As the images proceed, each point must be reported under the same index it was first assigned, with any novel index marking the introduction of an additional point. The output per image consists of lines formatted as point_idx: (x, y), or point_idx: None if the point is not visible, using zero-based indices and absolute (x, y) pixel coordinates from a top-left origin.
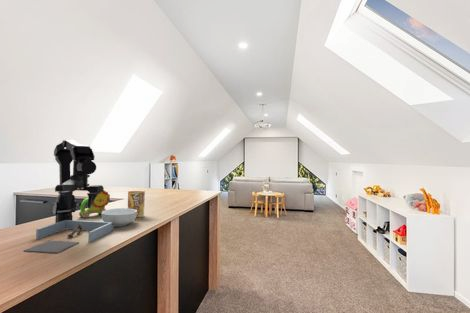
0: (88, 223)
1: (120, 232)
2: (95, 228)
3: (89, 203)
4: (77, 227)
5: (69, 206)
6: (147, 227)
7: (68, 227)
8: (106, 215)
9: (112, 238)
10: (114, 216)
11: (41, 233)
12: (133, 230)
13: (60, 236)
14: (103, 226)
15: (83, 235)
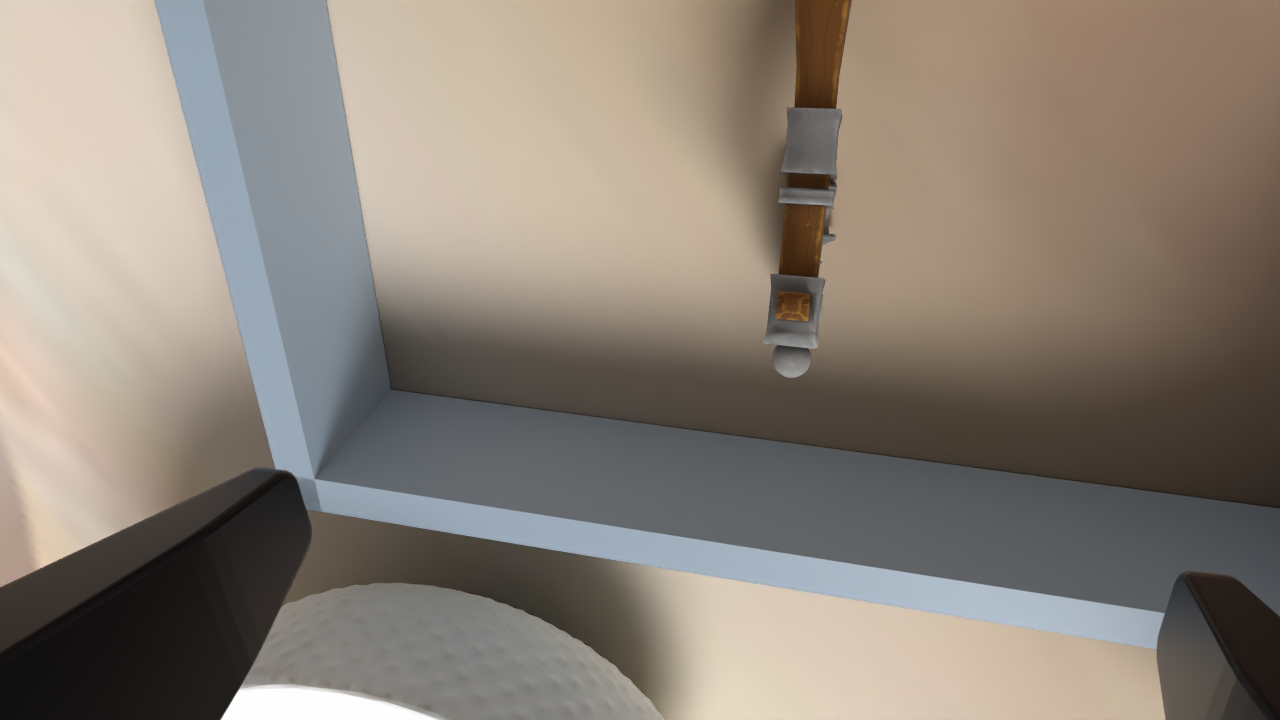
0: (769, 524)
1: (196, 336)
2: (635, 444)
3: (62, 563)
4: (804, 225)
5: (1176, 641)
6: (55, 557)
7: (1230, 520)
8: (457, 702)
9: (59, 13)
10: (302, 659)
11: None
12: (108, 433)
13: (1119, 4)
14: (217, 223)
15: (660, 128)
